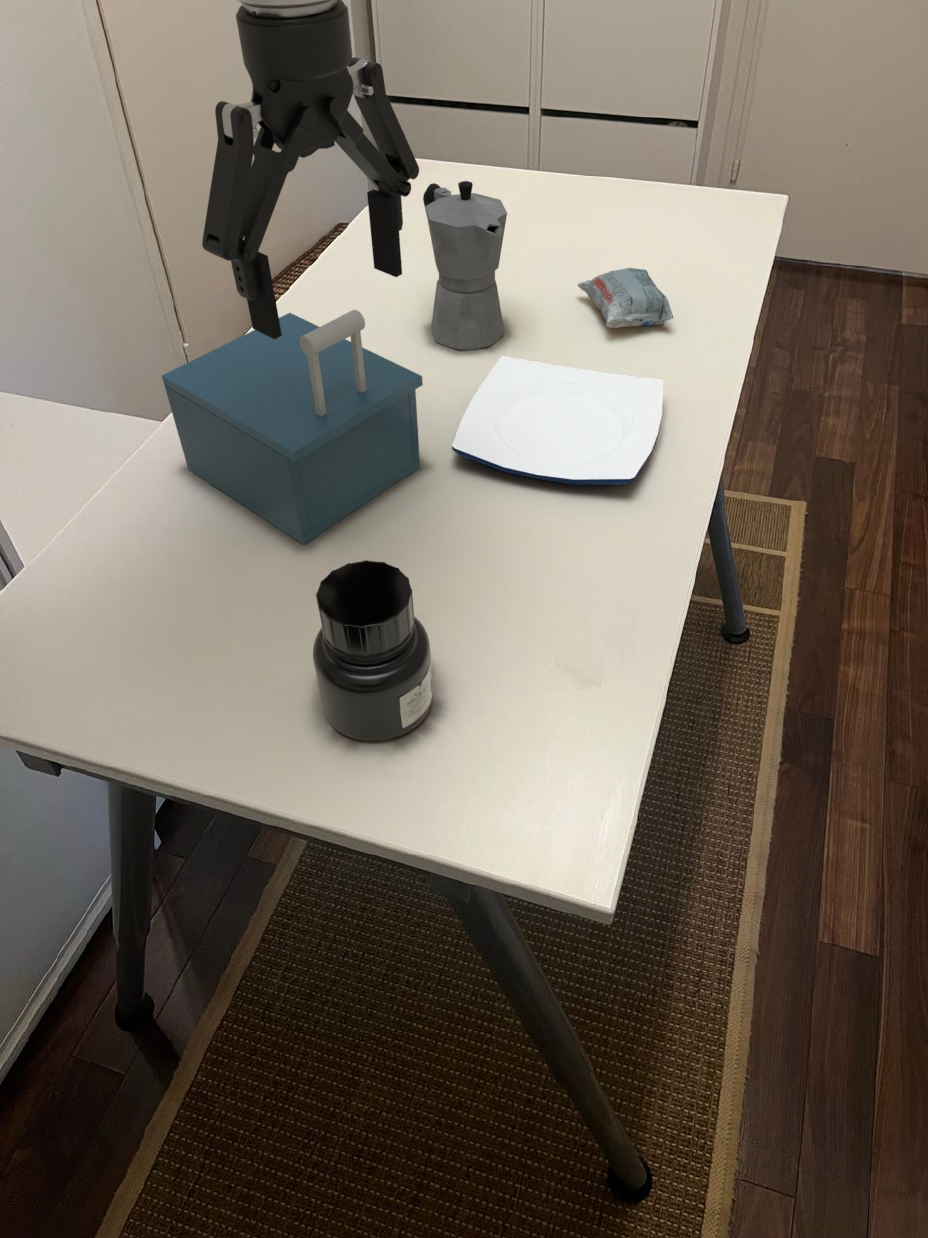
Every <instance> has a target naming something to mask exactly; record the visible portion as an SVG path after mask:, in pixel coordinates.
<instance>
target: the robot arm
mask: <svg viewBox="0 0 928 1238" xmlns="http://www.w3.org/2000/svg"><path fill="white" fill-rule="evenodd" d="M236 2H238V3H239V4H241V5H240V7H239V8H238V9H237V12H236V13H235V20H236V26H237V32H238V37H239V42H240V43H239V44H240V49H241V55H242V60H243V64H244V67H245V69H246V71H247V74H248V76H249V78H250V81H251V86H252V93H251V98H250V101H249V102H242V103H237V104H233V103H230V102H228V101H224V100H221V101H218V103H217V104H216V106H215V108H214V109H215V110H214V112H215V113H214V115H215V123H216V131H217V132H216V133H217V144H216V151H215V156H214V162H213V163H214V164H213V169H212V177H211V183H210V188H209V195H208V202H207V208H206V215H205V222H204V229H203V234H202V241H201V245H202V248H203V250H204V251H206V252H208V253H210V254H212V255H213V256H217V257H218V258H220V259H223V260H225V261H227V262H230V263H231V269H232V272H233V278H234V283H235V288H236V292H237V293H238V294H239V296H240V297H241V298H244V299H246V302H247V306H248V313H249V316H250V322H251V325H252V326H251V327H252V329H253V330H257V331H259V332H261V333H263V334H265V335H267V336H269V337H271V338H273V339H277V338H279V337H281V336H282V333H281V328H280V322H279V318H280V317H279V312H278V306H277V300H276V295H275V289H274V284H273V278H272V273H271V265H270V262H269V261H270V260H269V255H267V254H264V253H263V252H260V251H259V250H260V249H261V245H262V243H263V240H264V238H265V234H266V231H267V230H268V228H269V224H270V222H271V219H272V217H273V213H274V212H275V208H276V205H277V203H278V200H279V199H280V195H281V192H282V189H283V186H284V184H285V182H286V179H287V176H288V175H289V173H290V172H293V171H294V170H295V168H296V166H297V164H298V161H299V159H300V158H303V159H305V158H307V157H309V156H312V155H313V154H315V153H316V152H317V151H318V150H320V149H321V150H323V149H324V150H325V149H330V148H333V147H335V146H336V145H338V147H339V148H340V149H341V150H342V151H343V152H344V153H345V154H346V155H347V156H348V158H349V159H350V160H351V161H352V162H353V163H354V164H355V165H356V166H357V167H358V168H359V170H360V171H361V172H362V173H363V174H364V175H365V176H366V177H367V178H368V180H369V181H370V182H371V183H372V184H373V186H375V187H377V189H378V190H377V189H371V190H368V191H366V197H367V206H368V207H367V208H368V216H369V227H370V228H369V229H370V237H371V238H370V239H371V249H372V260H373V269H375V270H378V271H379V272H382V273H384V274H387V275H389V276H392V277H394V278H398V277H399V276H402V275H403V267H402V254H401V240H400V239H401V238H400V237H401V236H400V231H402V230H403V224H404V218H403V205H402V203H403V202H402V197H403V198H405V197H408V196H409V195H410V194H411V191H412V184H411V182H410V181H409V180H416V179H417V178H418V176H419V174H420V166H419V163H418V162H417V159H416V158H415V155H414V152H413V150H412V149H411V146H410V144H409V141H408V139H407V137H406V135H405V132H404V131H403V129H402V126H401V124H400V121H399V119H398V117H397V114H396V113H395V112H396V111H394V110H395V109H394V108H393V106H392V104H391V101H390V99H389V96H388V95H387V91H386V85H385V84H386V83H385V77H384V71H383V67H382V65H381V64H380V63H378V62H376V61H371V60H368V59H364V58H360V57H356V56H354V57H353V49H352V39H351V38H352V37H351V28H350V16H349V8H348V6H347V5H346V3H345V2H344V1H343V0H236ZM352 97H354V100H355V103H356V105H357V107H358V109H359V111H360V113H361V115H362V117H363V119H364V121H365V123H366V125H367V127H368V129H369V132H370V133H371V135H372V137H373V140H374V142H375V144H376V146H377V148H376V146H375V144H373V142H371V140H370V139H369V138H368V137H367V136H366V134H365V133H364V131H365V130H364V128H363V127H362V126H361V125H360V123H359V122H358V121H357V120H356V119H355V117H353V115H352V114H351V113H350V111H349V110H348V109H349V107H350V104H351V100H352ZM257 126H259V127H260V128H259V129H258V128H257ZM255 138H256V139H255ZM335 143H336V144H335ZM274 145H276V147H277V148H278V149H279V150H280V151H275V150H273V148H274Z"/></svg>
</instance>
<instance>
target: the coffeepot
mask: <svg viewBox="0 0 928 1238" xmlns="http://www.w3.org/2000/svg"><path fill="white" fill-rule="evenodd" d="M457 185H458V191H459V194H452V191H451V190H449V189H448V188H447V187H441V185H439V184H438V183H434V182H433V183H430V184H429V185H428V186H427V188H426V189H425V191H424V193H423V198H422V200H423V206H424V209H425V214H426V219H427V224H428V230H429V235H430V241H431V247H432V251H433V257H434V262H435V265H436V269H437V272H438V279H437V281H436V287H435V293H434V302H433V310H432V316H431V324H430V328H431V331H432V336H433V338H434V341H435V342H437V343H438V344H440V345H441V346H444V347H446V348H449V349H453V350H457V351H476V350H481V349H484V348H485V349H486V348H489V347H490V346H493V345H494V344H496V343H497V342H498V341H499V340H500V339H501V337H502V336H503V335H505V327H504V321H503V315H502V309H501V303H500V296H499V291H498V284H497V281H496V271H497V270H498V269H499V267H500V261H501V254H502V249H503V248H502V247H503V241H504V236H505V229H506V228H505V227H506V224H507V216H508V211H507V210H506V208H505V205H504V203H503V202H502V200H501V199H499V198H495V197H492V196H487V195H484V194H479V193H476V192H472V191H473V185H474V184H473V182H472V181H468V180H463V181H460V182H458V183H457Z"/></svg>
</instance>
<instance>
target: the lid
mask: <svg viewBox="0 0 928 1238" xmlns="http://www.w3.org/2000/svg"><path fill="white" fill-rule="evenodd" d="M279 322H280V328H281V333H282V336H281V337H279V338H277V339H273V338H271V337H269V336H267V335H265V334H263V333H261V332H259V331H257V330H255V329H253V330H252V331H250V332H247V333H245V334H244V335H241V336H239V337H237V338H235V339H233V340H231V341H229V342H227V343H225V344H223V345H221V346H219V347H216V348H215V349H212V350H211V351H209V352H207V353H204V354H202V355H201V356H198V357H196V358H194V359H193V360H190V361H188V362H187V363H184V364H182V365H180V366H178V367H176V368H174V369H172V370H169V371H168V372H166V373H164V374H162V375H161V378H162V382H163V385H164V386H165V385H166V386H168V387H169V388H171V389H173V390H174V391H176V392H178V393H179V394H181V395H183V396H184V397H186V398H188V399H189V400H191V401H193V402H195V403H196V404H198V405H200V406H201V407H203V408H205V409H206V410H208V411H210V412H211V413H213V414H215V415H216V416H218V417H220V418H222V419H223V420H225V421H227V422H228V423H230V424H232V425H233V426H235V427H237V428H238V429H240V430H242V431H243V432H245V433H247V434H248V435H250V436H252V437H254V438H255V439H257V440H259V441H260V442H262V443H264V444H265V445H267V446H269V447H270V448H272V449H274V450H275V451H277V452H279V453H280V454H282V455H284V456H286V457H287V458H289V459H291V460H292V461H294V462H296V461H297V460H299V459H301V458H302V457H304V456H306V455H307V454H309V453H311V452H312V451H314V450H316V449H317V448H319V447H321V446H322V445H324V444H325V443H327V442H329V441H330V440H332V439H334V438H335V437H337V436H339V435H340V434H342V433H344V432H345V431H347V430H349V429H350V428H352V427H354V426H355V425H357V424H359V423H360V422H362V421H364V420H365V419H367V418H369V417H370V416H372V415H374V414H375V413H377V412H379V411H380V410H382V409H384V408H385V407H387V406H389V405H390V404H392V403H394V402H395V401H397V400H399V399H400V398H402V397H404V396H405V395H407V394H409V393H410V392H412V391H414V390H415V391H416V390H417V389H419V388H420V387H422V386H423V385H424V384H423V383H424V382H423V376H422V375H421V374H420V373H417V372H416V371H412V370H410V369H408V368H407V367H405V366H402V365H400V364H398V363H396V362H394V361H392V360H390V359H388V358H385V357H384V356H382V355H379V354H377V353H375V352H373V351H371V350H369V349H366V348H365V347H363V344H362V343H363V342H362V333H361V331H363V330H364V329H365V328H366V321H365V318H364V316H363V314H362V313H361V312H360V311H359V310H358V309H351V310H350V311H348V312H346V313H344V314H343V315H340V316H338V317H337V318H335V319H332V320H330V321H329V322H327V323H325V324H323V325H321V326H318V325H317V324H315V323H313V322H311V321H309V320H307V319H304V318H302V317H300V316H298V315H296V314H294V313H292V312H288V313H286V314H284V315H282V316H280V317H279ZM349 337H350V340H348V338H349Z"/></svg>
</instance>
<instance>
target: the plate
mask: <svg viewBox="0 0 928 1238" xmlns="http://www.w3.org/2000/svg"><path fill="white" fill-rule="evenodd" d="M664 385H665V382H664V380H662V379H660V378H652V377H644V376H635V375H625V374H618V373H617V374H616V373H609V372H603V371H597V370H591V369H584V368H576V367H570V366H564V365H556V364H551V363H546V362H540V361H535V360H529V359H524V358H517V357H513V356H507V355H502V356H500V357H499V359H498V360H497V362H496V363H495V364H494V366H493V367H492V369H491V370H490V371H489V373H487V376H486V377H485V379H484V380H483V381H482V383H481V384H480V385H479V387H478V389H477V390H476V392H475V394H474V396H473V397H472V399H471V400H470V402H469V404H468V406H467V408H466V410H465V412H464V414H463V416H462V418H461V420H460V423H459V425H458V428H457V430H456V433H455V436H454V438H453V442H452V444H451V450H452V451H453V452H454V453H456V454H458V455H460V456H461V457H463V458H467V459H469V460H470V461H471V460H472V461H474V462H476V463H479V464H482V465H485V466H488V467H489V468H493V469H495V470H498V471H501V472H503V473H506V474H507V473H508V474H512V475H517V476H522V477H527V478H531V479H535V480H542V481H550V482H555V483H561V484H569V485H626V484H628V483H632V482H634V481H635V480H636V479H637V477H638V475H639V474H640V473H641V471H642V469H643V468H644V466H645V465H646V463H647V461H648V460H649V458H650V457H651V455H652V453H653V450H654V448H655V445H656V443H657V440H658V437H659V433H660V428H661V423H662V418H663V404H664Z"/></svg>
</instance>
